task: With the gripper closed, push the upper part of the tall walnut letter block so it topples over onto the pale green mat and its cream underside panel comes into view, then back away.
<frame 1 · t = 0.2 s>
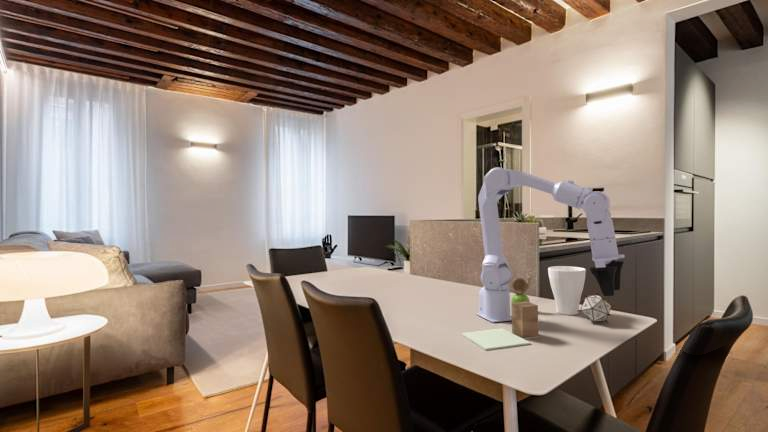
hand: (612, 292, 96), 11 cm above the table, tool pointing down, fingers open, 7 cm apart
mat: (494, 339, 95), on the table
letter block: (525, 335, 98), on the table
cup: (567, 313, 118), on the table
game die: (596, 322, 107), on the table
snail figurine: (522, 311, 122), on the table
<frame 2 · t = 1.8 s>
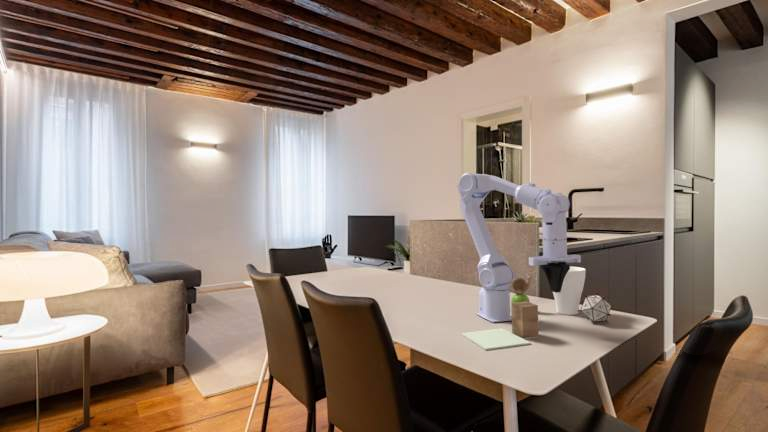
hand: (555, 291, 100), 10 cm above the table, tool pointing down, fingers closed
nothing on the table moved.
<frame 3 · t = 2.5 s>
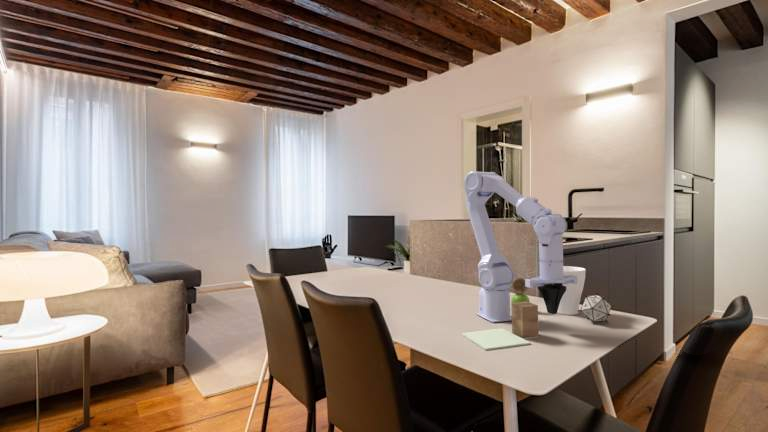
hand: (552, 313, 100), 5 cm above the table, tool pointing down, fingers closed
nothing on the table moved.
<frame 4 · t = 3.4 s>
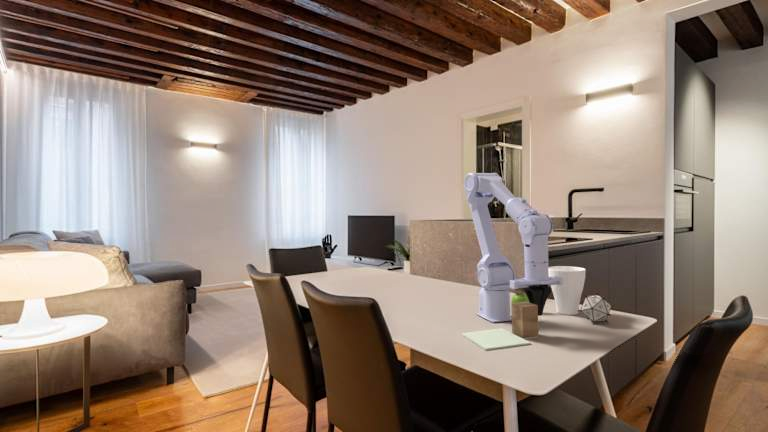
hand: (537, 314, 99), 5 cm above the table, tool pointing down, fingers closed
letter block: (525, 335, 98), on the table, touching gripper
everything else where it was.
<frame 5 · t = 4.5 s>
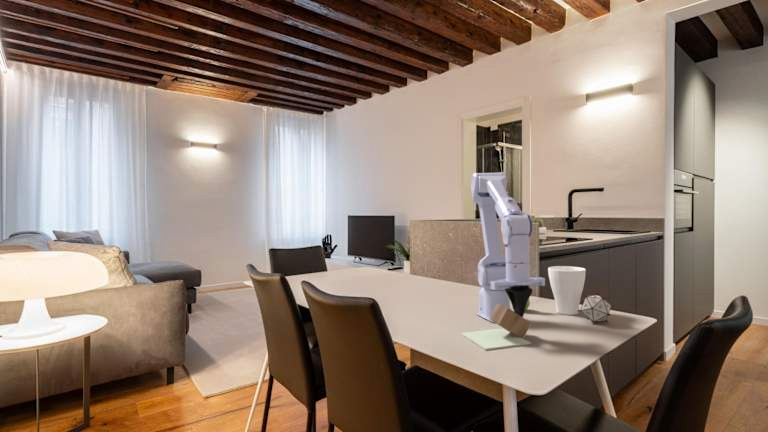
hand: (519, 316, 97), 5 cm above the table, tool pointing down, fingers closed, pressing on letter block
letter block: (521, 328, 98), point 2 cm above the table, tilted 56°, touching gripper, mat
everything else where it was.
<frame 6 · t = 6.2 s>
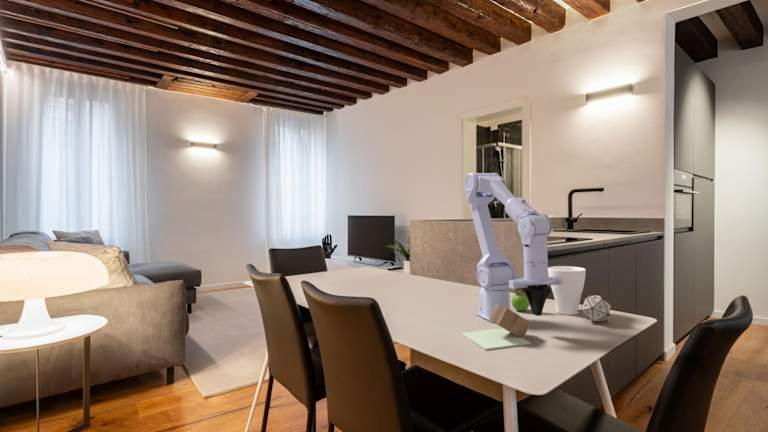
hand: (536, 314, 99), 5 cm above the table, tool pointing down, fingers closed
letter block: (521, 328, 98), point 2 cm above the table, tilted 57°
everything else where it was.
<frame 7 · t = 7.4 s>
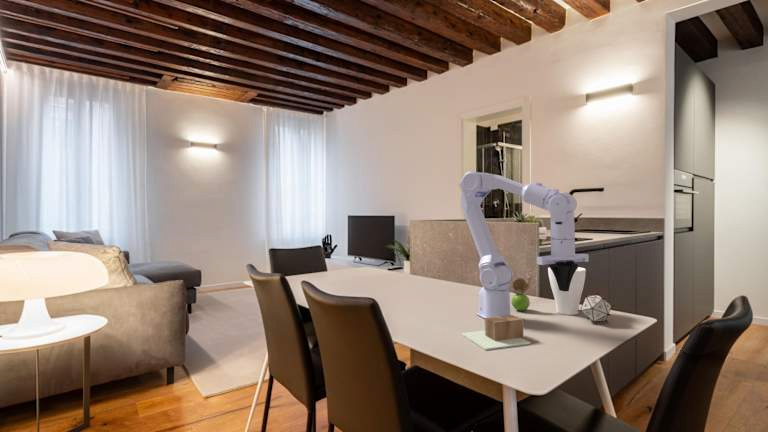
hand: (563, 290, 101), 10 cm above the table, tool pointing down, fingers closed
letter block: (518, 325, 97), point 3 cm above the table, tilted 90°, touching mat
everything else where it was.
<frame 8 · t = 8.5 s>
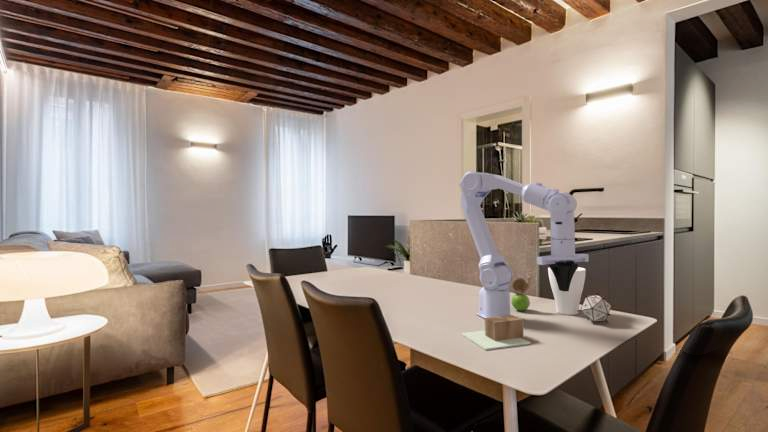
hand: (563, 290, 101), 10 cm above the table, tool pointing down, fingers closed
nothing on the table moved.
at the end: letter block tilted 90°; letter block inside the target area (7.0 cm from its centre), point 2.6 cm above the table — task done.
